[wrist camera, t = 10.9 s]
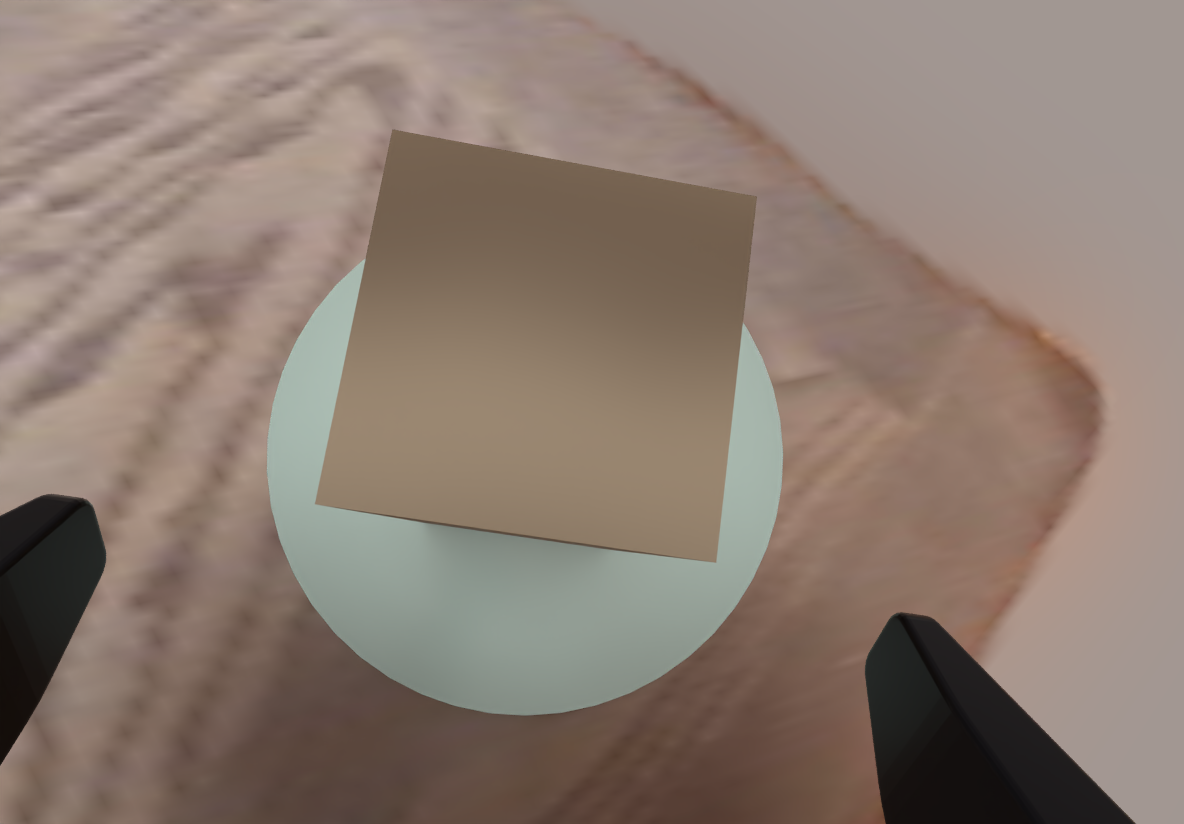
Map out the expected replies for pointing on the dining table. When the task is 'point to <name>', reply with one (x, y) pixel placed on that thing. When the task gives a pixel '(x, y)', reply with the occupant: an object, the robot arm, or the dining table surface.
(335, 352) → the dish
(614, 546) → the walnut block
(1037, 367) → the dining table surface
